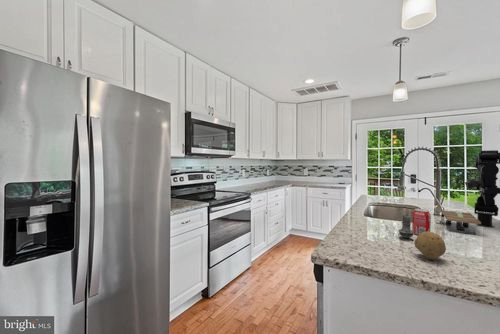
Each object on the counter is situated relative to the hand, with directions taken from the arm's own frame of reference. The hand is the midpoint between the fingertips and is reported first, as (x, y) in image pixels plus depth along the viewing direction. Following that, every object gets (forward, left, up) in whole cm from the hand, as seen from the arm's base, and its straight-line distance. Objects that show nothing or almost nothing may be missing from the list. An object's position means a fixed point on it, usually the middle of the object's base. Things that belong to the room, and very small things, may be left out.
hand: (487, 205), depth 116 cm
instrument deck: (+4, -11, -7) cm, 14 cm away
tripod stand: (+4, -11, -13) cm, 17 cm away
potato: (+59, -27, -13) cm, 66 cm away
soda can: (+27, -28, -13) cm, 41 cm away
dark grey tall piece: (+39, -34, -13) cm, 53 cm away
